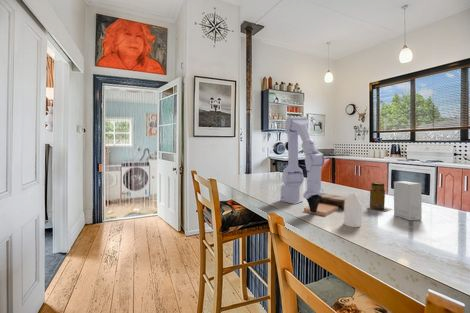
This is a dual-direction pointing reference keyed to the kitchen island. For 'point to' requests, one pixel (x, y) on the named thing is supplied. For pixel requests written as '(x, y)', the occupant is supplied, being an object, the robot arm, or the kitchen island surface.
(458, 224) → the kitchen island surface
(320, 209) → the tile
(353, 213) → the white pointed crystal
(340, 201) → the shelf
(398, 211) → the skincare box
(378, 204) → the condiment
